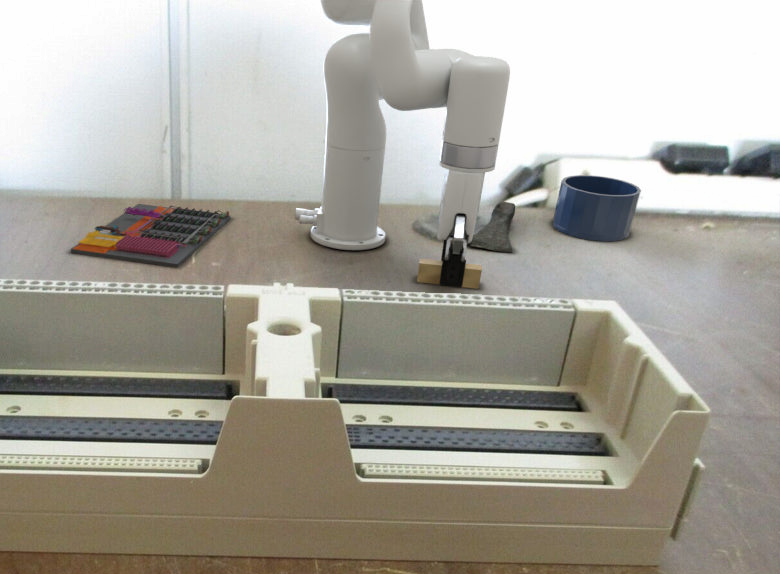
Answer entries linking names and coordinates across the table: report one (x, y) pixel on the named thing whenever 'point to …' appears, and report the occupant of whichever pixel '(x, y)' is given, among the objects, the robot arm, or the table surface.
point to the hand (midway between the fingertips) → (451, 274)
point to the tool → (496, 229)
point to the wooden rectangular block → (432, 272)
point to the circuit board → (153, 235)
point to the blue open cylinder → (596, 207)
